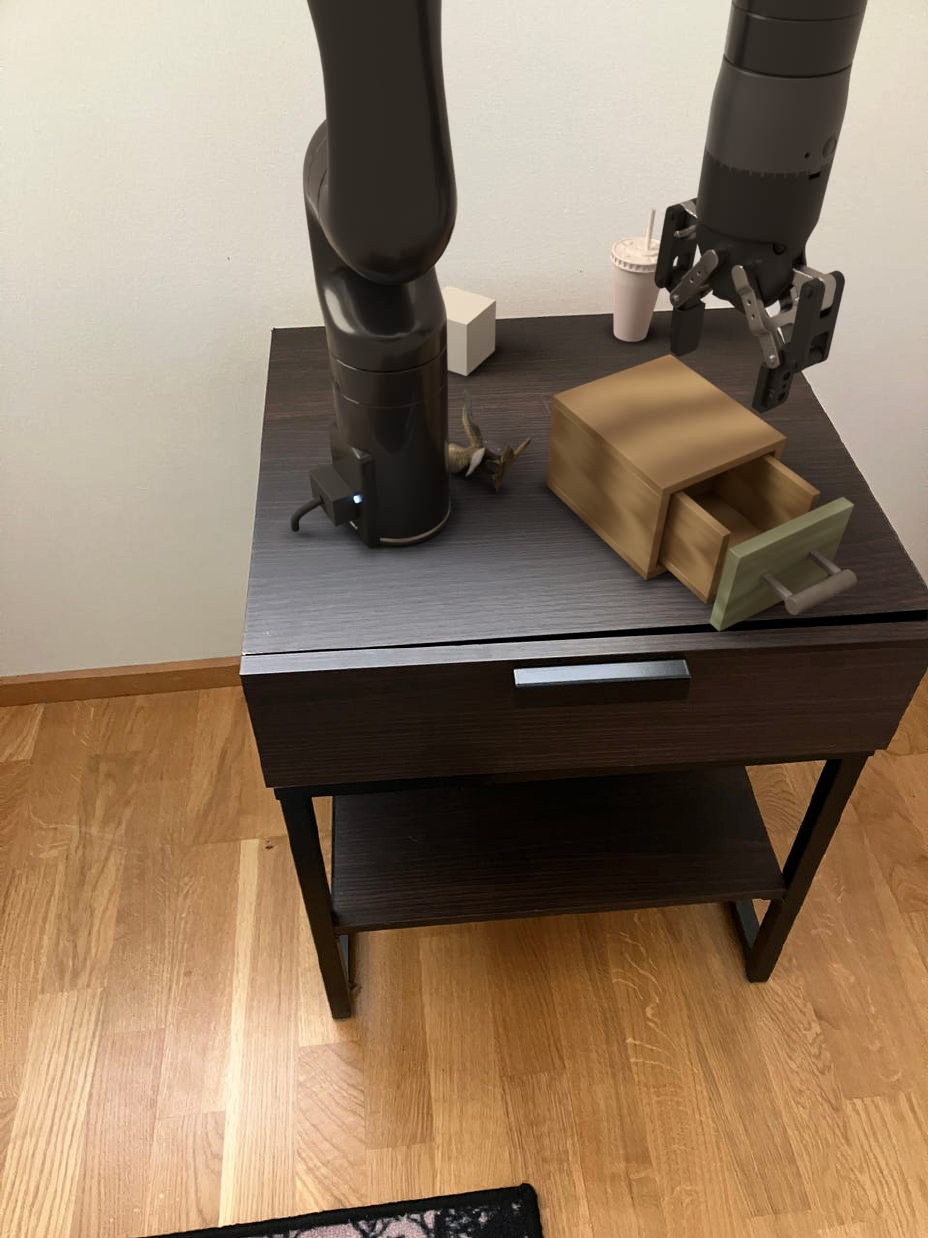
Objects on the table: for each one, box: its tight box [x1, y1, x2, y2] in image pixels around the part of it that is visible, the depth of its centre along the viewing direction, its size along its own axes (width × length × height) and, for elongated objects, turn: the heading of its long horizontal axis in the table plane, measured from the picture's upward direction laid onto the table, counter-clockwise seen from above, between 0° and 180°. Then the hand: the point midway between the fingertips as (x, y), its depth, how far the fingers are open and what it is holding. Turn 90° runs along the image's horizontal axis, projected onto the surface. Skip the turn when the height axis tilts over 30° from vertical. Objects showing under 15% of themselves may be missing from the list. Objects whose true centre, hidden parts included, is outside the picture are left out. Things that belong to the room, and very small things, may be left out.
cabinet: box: [546, 353, 787, 581], centre depth 84 cm, size 15×13×10 cm
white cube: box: [441, 285, 497, 377], centre depth 103 cm, size 6×6×6 cm
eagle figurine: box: [449, 389, 533, 492], centre depth 89 cm, size 8×7×9 cm
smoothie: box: [609, 207, 661, 343], centre depth 103 cm, size 6×6×14 cm
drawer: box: [657, 453, 858, 632], centre depth 77 cm, size 18×12×8 cm, turn 31°
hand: (723, 378), depth 69 cm, fingers open, 8 cm apart
